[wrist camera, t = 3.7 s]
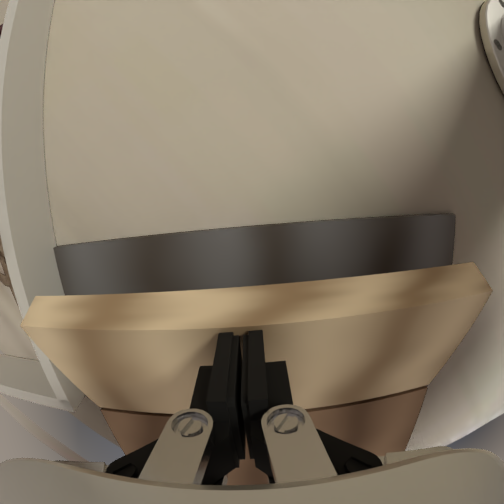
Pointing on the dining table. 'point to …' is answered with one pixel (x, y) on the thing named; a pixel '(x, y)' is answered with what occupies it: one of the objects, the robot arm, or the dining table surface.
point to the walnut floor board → (266, 273)
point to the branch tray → (28, 197)
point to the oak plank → (274, 335)
